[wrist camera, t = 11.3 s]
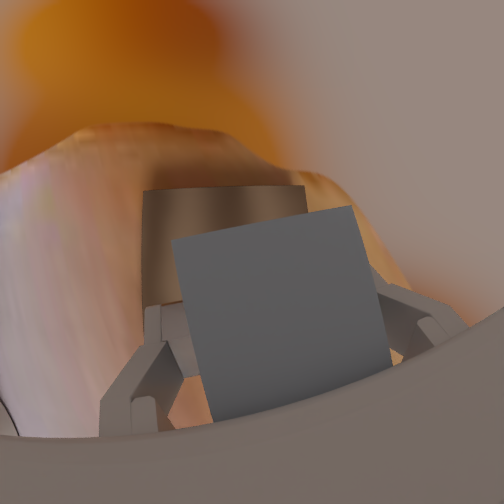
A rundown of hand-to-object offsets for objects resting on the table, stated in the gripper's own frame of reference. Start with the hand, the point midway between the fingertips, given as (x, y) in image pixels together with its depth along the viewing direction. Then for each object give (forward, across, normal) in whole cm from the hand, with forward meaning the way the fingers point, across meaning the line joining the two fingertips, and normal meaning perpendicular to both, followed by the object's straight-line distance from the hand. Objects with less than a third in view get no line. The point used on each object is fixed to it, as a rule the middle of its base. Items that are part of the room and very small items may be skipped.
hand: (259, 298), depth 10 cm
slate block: (+3, 0, +4) cm, 4 cm away
